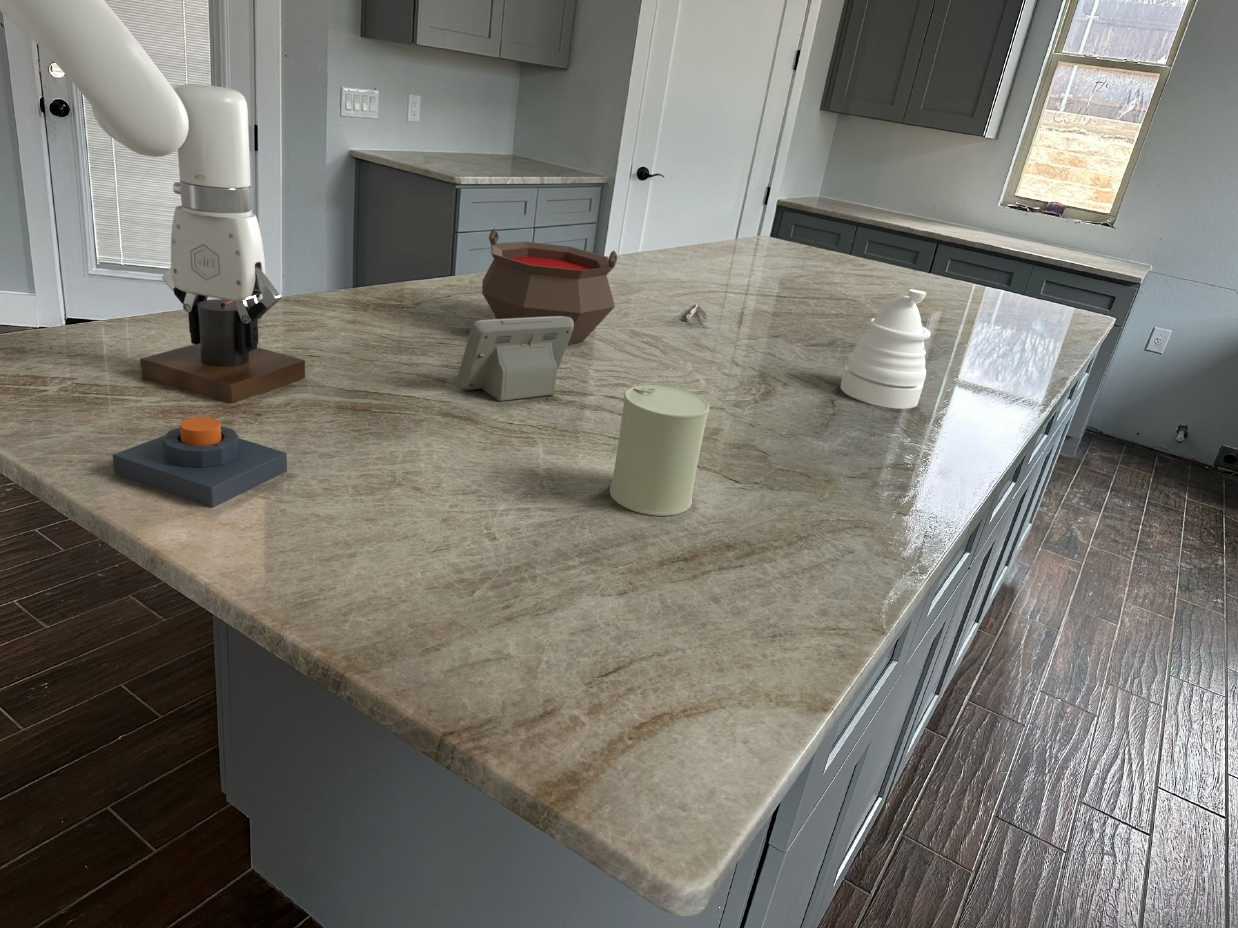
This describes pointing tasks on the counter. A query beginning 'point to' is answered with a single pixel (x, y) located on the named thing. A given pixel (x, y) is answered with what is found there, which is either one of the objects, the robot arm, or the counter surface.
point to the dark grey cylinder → (219, 333)
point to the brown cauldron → (549, 283)
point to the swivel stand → (223, 373)
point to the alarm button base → (201, 466)
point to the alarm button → (200, 431)
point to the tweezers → (699, 312)
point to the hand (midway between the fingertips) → (224, 344)
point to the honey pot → (890, 357)
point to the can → (658, 449)
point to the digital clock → (515, 356)
